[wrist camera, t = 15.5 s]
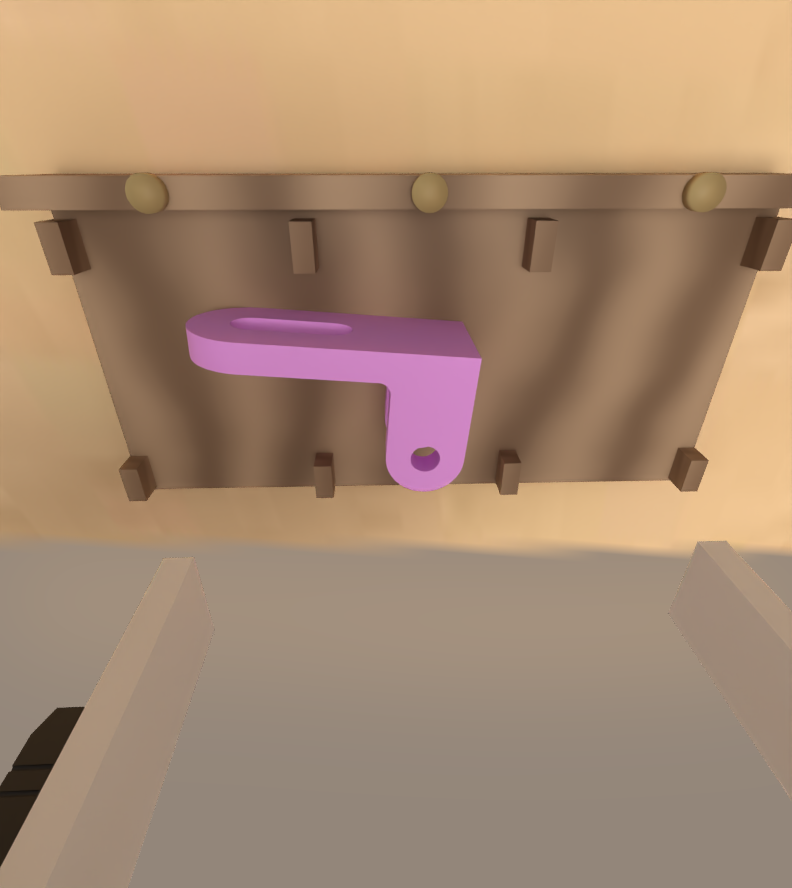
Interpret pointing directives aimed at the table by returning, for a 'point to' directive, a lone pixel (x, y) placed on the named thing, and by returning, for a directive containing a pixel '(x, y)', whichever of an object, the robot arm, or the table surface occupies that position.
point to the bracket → (361, 372)
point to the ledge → (417, 312)
